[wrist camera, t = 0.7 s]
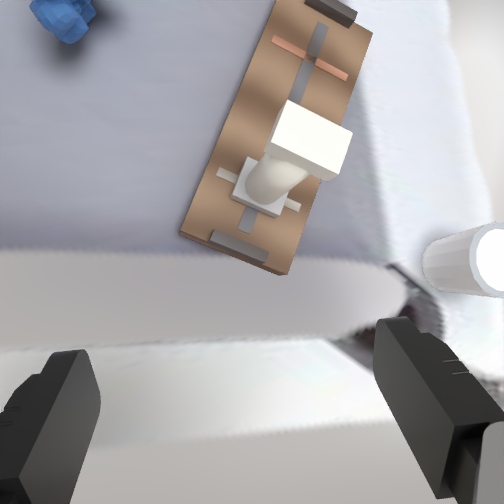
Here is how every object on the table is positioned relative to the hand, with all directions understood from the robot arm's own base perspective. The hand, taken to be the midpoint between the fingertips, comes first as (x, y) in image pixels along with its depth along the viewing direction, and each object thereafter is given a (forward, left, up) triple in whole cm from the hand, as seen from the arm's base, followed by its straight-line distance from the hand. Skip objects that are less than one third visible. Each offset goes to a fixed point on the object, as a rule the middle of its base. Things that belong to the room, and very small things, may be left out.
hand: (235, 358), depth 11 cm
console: (-11, +16, -24) cm, 31 cm away
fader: (-6, +11, -21) cm, 24 cm away
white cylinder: (+9, +26, -24) cm, 37 cm away
